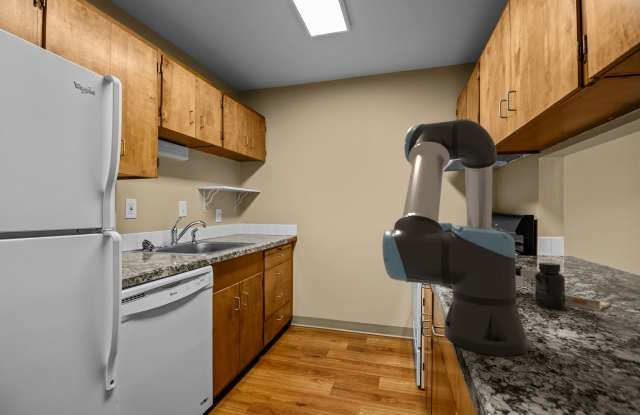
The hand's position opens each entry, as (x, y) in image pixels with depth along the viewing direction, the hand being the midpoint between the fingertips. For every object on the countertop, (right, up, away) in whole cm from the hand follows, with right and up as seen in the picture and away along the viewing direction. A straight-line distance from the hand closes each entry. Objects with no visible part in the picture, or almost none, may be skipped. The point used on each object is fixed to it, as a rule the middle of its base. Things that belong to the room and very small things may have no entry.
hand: (535, 279), depth 90 cm
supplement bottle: (+2, -7, -4) cm, 8 cm away
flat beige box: (+13, -7, -1) cm, 15 cm away
